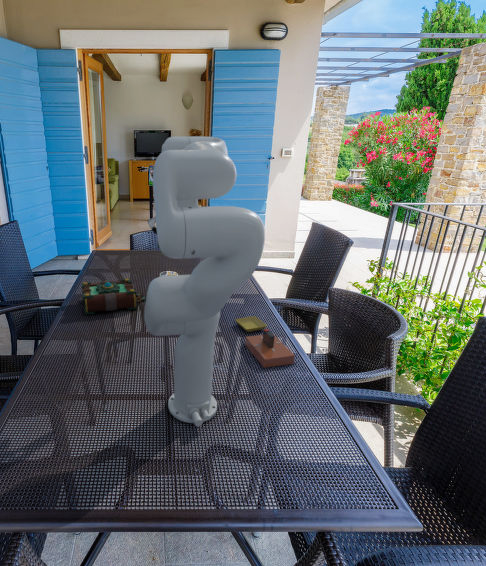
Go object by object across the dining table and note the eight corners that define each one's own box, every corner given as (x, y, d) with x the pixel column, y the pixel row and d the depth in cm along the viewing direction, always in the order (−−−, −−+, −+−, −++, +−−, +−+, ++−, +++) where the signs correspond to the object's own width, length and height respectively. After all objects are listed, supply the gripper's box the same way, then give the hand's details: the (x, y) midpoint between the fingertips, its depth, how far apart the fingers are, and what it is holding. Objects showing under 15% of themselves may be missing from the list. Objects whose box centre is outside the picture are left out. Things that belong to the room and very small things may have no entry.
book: (141, 290, 171) (141, 269, 167) (152, 309, 152) (151, 286, 148) (82, 296, 164) (80, 274, 161) (84, 317, 145) (82, 293, 142)
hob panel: (293, 363, 116) (295, 354, 115) (263, 367, 114) (264, 359, 113) (272, 341, 128) (273, 333, 127) (244, 344, 126) (245, 336, 125)
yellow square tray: (234, 323, 140) (234, 318, 140) (254, 320, 143) (254, 315, 142) (246, 334, 133) (246, 329, 132) (267, 330, 135) (267, 325, 135)
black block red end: (273, 347, 119) (274, 335, 117) (268, 347, 119) (270, 336, 117) (266, 340, 123) (268, 328, 122) (262, 340, 123) (263, 329, 121)
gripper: (150, 189, 95) (151, 254, 101) (214, 187, 99) (212, 250, 105) (144, 186, 101) (145, 247, 108) (205, 184, 106) (203, 243, 112)
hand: (178, 248), depth 106 cm, fingers open, 9 cm apart
